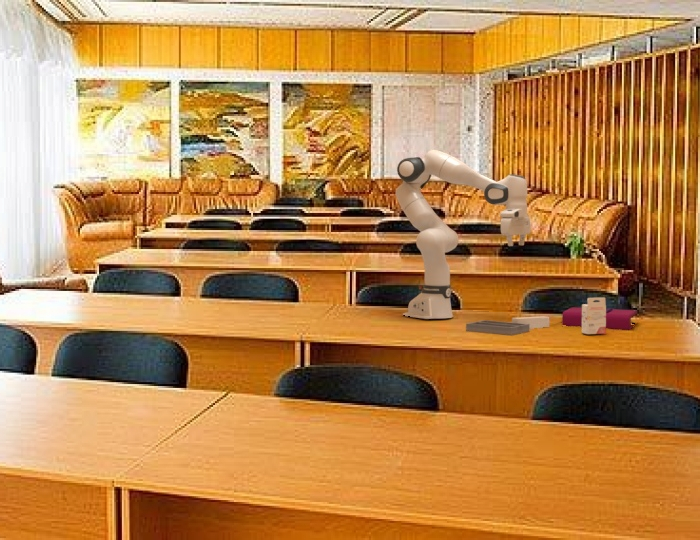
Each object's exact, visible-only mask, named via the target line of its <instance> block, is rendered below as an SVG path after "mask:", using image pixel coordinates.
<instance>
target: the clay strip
mask: <svg viewBox="0 0 700 540" xmlns="http://www.w3.org/2000/svg"><path fill="white" fill-rule="evenodd" d="M511 323H522V324H530V328H529V330H534V328H537V329H544V328H543V327H549V328H550V316H544V315H542V316H541V315H539V316H538V315H537V316H522V317H521V316H520V317H511Z"/></svg>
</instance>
